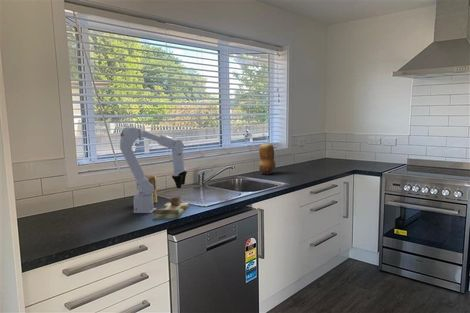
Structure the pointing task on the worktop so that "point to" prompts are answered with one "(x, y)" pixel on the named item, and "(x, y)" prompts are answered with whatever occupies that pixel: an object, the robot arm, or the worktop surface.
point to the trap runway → (171, 211)
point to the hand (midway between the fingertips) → (180, 186)
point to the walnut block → (175, 201)
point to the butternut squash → (266, 158)
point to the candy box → (153, 181)
